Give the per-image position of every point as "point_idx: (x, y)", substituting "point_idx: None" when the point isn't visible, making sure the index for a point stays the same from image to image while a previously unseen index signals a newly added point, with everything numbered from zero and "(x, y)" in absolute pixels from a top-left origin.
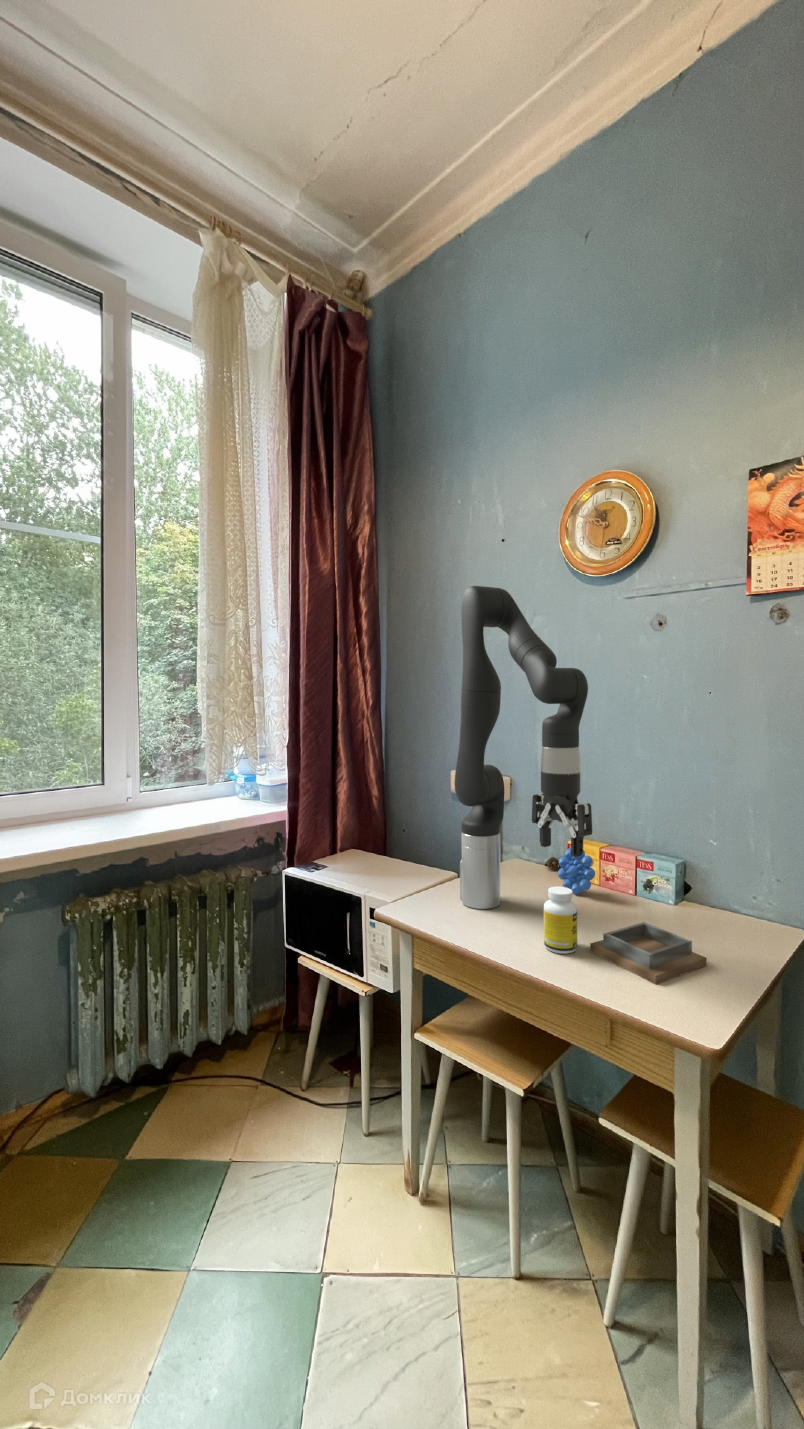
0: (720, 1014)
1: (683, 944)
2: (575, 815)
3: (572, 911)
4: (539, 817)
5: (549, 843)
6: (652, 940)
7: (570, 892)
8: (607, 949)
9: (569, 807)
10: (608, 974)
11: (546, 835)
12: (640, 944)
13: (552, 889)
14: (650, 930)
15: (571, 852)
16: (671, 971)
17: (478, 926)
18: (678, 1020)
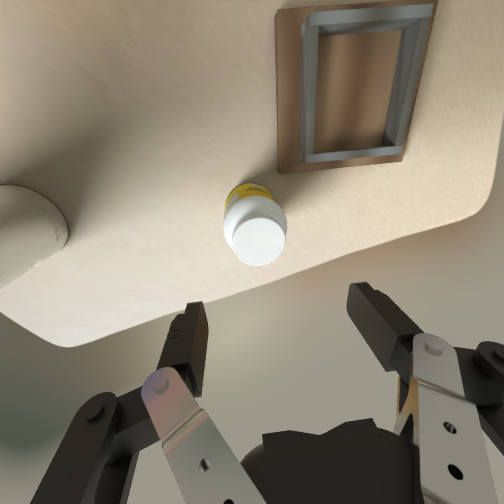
0: (479, 144)
1: (425, 41)
2: (464, 475)
3: (286, 224)
4: (114, 449)
5: (201, 310)
6: (330, 40)
7: (281, 232)
8: (310, 163)
9: None
10: (340, 198)
11: (200, 351)
12: (328, 86)
13: (247, 254)
14: (330, 28)
15: (354, 321)
16: (409, 122)
17: (141, 270)
18: (445, 201)
